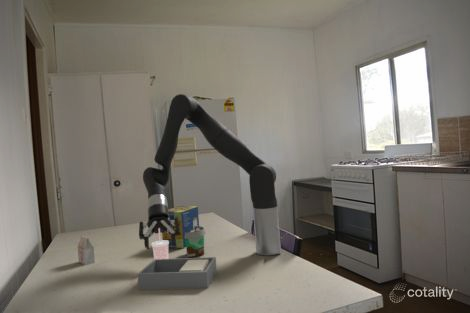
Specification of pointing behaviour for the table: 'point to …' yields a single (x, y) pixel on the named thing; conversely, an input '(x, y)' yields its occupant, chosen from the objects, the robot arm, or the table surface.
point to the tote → (175, 274)
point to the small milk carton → (85, 251)
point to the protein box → (182, 224)
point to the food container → (195, 242)
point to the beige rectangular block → (195, 265)
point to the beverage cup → (160, 248)
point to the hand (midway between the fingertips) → (160, 246)
